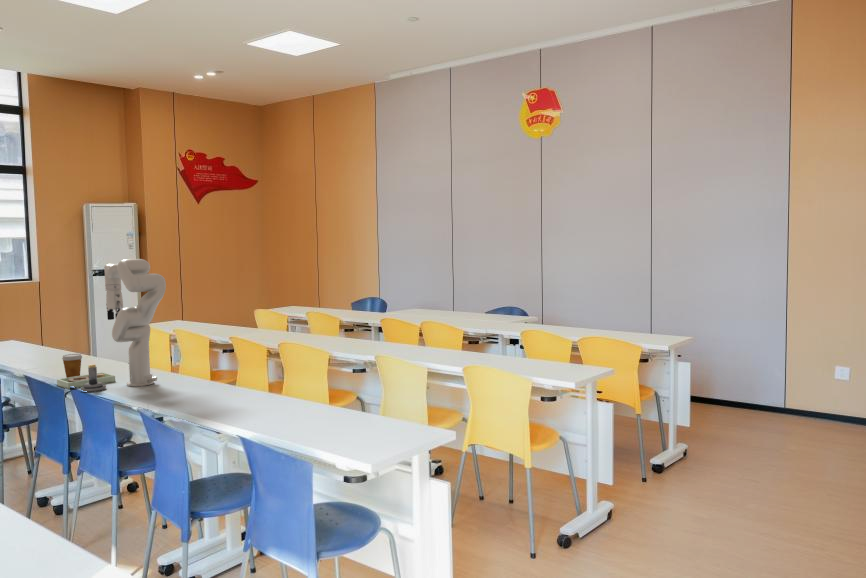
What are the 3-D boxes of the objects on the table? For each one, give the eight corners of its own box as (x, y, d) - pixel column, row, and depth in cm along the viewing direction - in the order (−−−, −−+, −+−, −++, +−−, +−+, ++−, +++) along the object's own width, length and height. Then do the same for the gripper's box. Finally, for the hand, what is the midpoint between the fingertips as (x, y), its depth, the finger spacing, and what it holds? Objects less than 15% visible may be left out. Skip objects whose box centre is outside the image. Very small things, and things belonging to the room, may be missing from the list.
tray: (103, 378, 363) (103, 372, 362) (115, 381, 353) (115, 375, 353) (57, 385, 346) (56, 379, 346) (68, 389, 336) (68, 383, 336)
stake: (110, 389, 334) (108, 364, 333) (86, 393, 326) (84, 368, 325) (100, 386, 342) (99, 362, 341) (77, 390, 334) (75, 365, 333)
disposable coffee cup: (87, 375, 370) (85, 353, 369) (76, 379, 360) (74, 356, 359) (70, 375, 371) (69, 353, 370) (59, 379, 361) (57, 356, 360)
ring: (73, 386, 340) (73, 380, 340) (65, 383, 347) (65, 377, 346) (107, 380, 352) (107, 375, 352) (99, 378, 359) (99, 372, 359)
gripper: (127, 287, 358) (129, 320, 359) (113, 286, 369) (115, 318, 371) (113, 288, 352) (114, 322, 354) (99, 287, 364) (100, 319, 365)
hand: (114, 320), depth 362 cm, fingers open, 9 cm apart
